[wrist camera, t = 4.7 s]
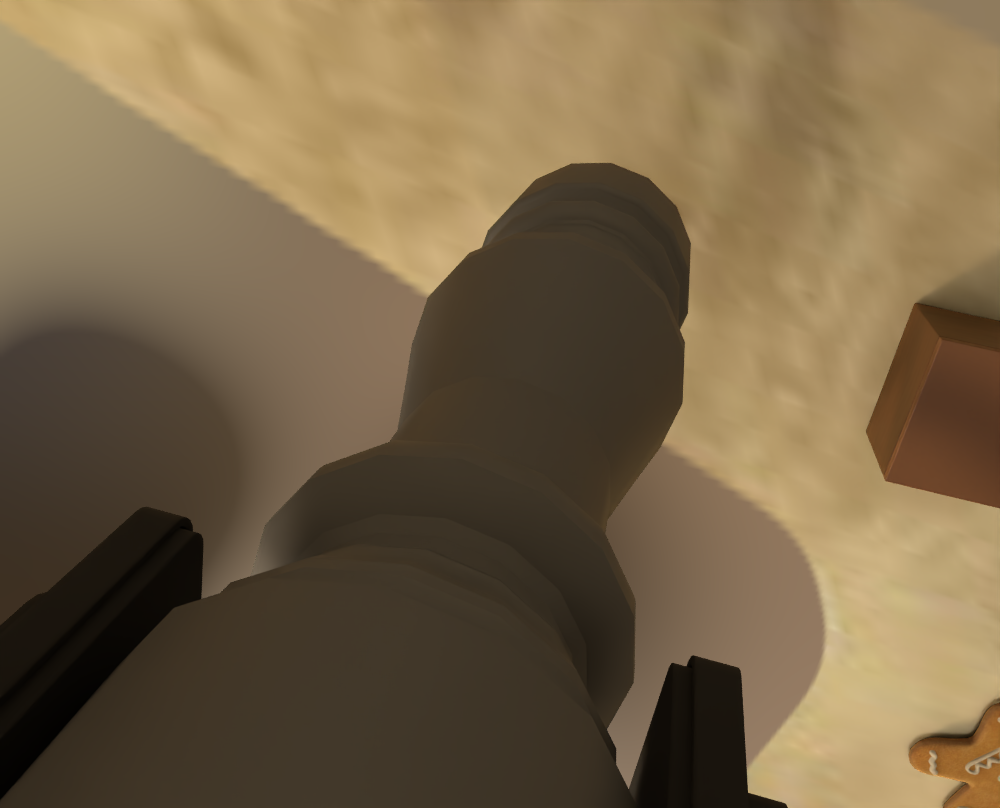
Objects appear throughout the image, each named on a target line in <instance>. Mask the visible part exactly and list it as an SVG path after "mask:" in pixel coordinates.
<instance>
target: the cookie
mask: <svg viewBox="0 0 1000 808" xmlns="http://www.w3.org/2000/svg"><path fill="white" fill-rule="evenodd" d="M909 760H910V763H911V764H912V766H913V767H914V768H915V769H917V770H918V771H920V772H923V773H926V774H929V775H934V776H940V777H945V778H949V779H953V780H957V781H962V782H966V784H965V785H964V786H963V787H962V788H961V789H959V790H958V791H957V792H956V793H955V794H954V795H953V796H951V797H950V798H949V799H948V801H947V802H946V803H945V805H944V806H943V808H1000V703H997V704H994V705H993V706H992V707H990V708H989V709H988V710H987V711H986V713H985V715H984V716H983V718H982V721H981V723H980V725H979V727H978V729H977V730H976V732H975V733H974V735H973V736H971V737H969V738H960V739H951V738H927V739H923V740H920V741H919V742H918V743H916V744H915V745H914V746H913V747H912V748H911V749H910V752H909Z"/></svg>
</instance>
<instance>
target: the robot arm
mask: <svg viewBox="0 0 1000 808" xmlns="http://www.w3.org/2000/svg"><path fill="white" fill-rule="evenodd" d="M202 565H203V538H202V536H201V534H199V533H196V532H193V526H192V523H191V521H190V520H189V519H188V518H186V517H182V516H179V515H175V514H171V513H168V512H164V511H160V510H157V509H153V508H149V507H143V508H140V509H139V510H137V511H136V512H135V513H134V514H133V515H132V516H130V518H128V519H127V520H126V521H125V522H124V523H123V524H122V525H121V526H119V527H118V528H117V529H116V530H115V531H114V532H113V533H112V534H111V535H109V536H108V537H107V538H106V539H105V540H104V541H103V542H102V543H101V544H99V545H98V546H97V547H96V548H95V549H94V550H93V551H92V552H91V553H90V554H88V555H87V556H86V557H85V558H84V559H83V560H82V561H81V562H80V563H78V564H77V565H76V566H75V567H74V568H73V569H72V570H71V571H70V572H69V573H67V574H66V575H65V576H64V577H63V578H62V579H61V580H60V581H59V582H58V583H56V585H54V586H53V587H52V588H51V589H50V590H49V591H48V592H45V593H42V594H38V595H36V596H35V597H33V598H32V599H30V600H29V601H28V602H26V603H25V604H24V605H23V606H22V607H21V608H19V609H18V610H17V611H16V612H15V613H14V614H13V615H12V616H10V617H9V618H8V619H7V620H6V621H5V622H4V623H3V624H2V625H0V800H1V798H2V797H3V796H4V795H5V794H6V793H7V792H8V790H9V789H10V788H11V787H12V786H13V785H14V784H15V782H16V781H17V780H18V779H19V778H20V777H21V776H22V774H23V773H24V772H25V771H26V770H27V769H28V768H29V767H30V765H31V764H32V763H33V762H34V761H35V760H36V759H37V757H38V756H39V755H40V754H41V753H42V752H43V751H44V749H45V748H46V747H47V746H48V745H49V744H50V743H51V741H52V740H53V739H54V738H55V737H56V736H57V735H58V734H59V732H60V731H61V730H62V729H63V728H64V727H65V726H66V724H67V723H68V722H69V721H70V720H71V719H72V718H73V716H74V715H75V714H76V713H77V712H78V711H79V710H80V708H81V707H82V706H83V705H84V704H85V703H86V702H87V700H88V699H89V698H90V697H91V696H92V695H93V694H94V693H95V691H96V690H97V689H98V688H99V687H100V686H101V685H102V683H103V682H104V681H105V680H106V679H107V678H108V677H109V675H110V674H111V673H112V672H113V671H114V670H115V669H116V667H117V666H118V665H119V664H120V663H121V662H122V661H123V660H124V659H125V658H126V657H127V656H128V655H129V654H130V653H131V652H132V651H133V650H134V649H135V648H136V647H137V646H138V645H139V644H140V643H141V642H142V640H143V639H144V638H145V637H146V636H147V635H148V634H149V633H150V632H151V631H152V630H153V629H154V628H155V627H156V626H157V625H158V624H159V623H160V622H161V621H162V620H163V619H164V618H165V617H166V616H167V615H168V614H169V613H170V611H171V610H172V609H173V608H175V607H178V606H181V605H184V604H188V603H191V602H194V601H197V600H200V599H201V592H202ZM745 751H746V750H745V733H744V715H743V697H742V680H741V671H740V669H739V668H737V667H734V666H730V665H727V664H723V663H719V662H715V661H711V660H708V659H705V658H701V657H697V656H691V658H690V659H689V661H688V664H687V666H682V665H679V664H675V663H671V665H670V667H669V669H668V672H667V675H666V678H665V681H664V684H663V687H662V691H661V693H660V696H659V699H658V703H657V706H656V708H655V712H654V715H653V718H652V721H651V724H650V727H649V730H648V733H647V736H646V739H645V742H644V745H643V748H642V751H641V754H640V757H639V760H638V763H637V766H636V769H635V772H634V776H633V778H632V781H631V785H630V787H629V791H630V793H631V795H632V797H633V799H634V801H635V803H636V805H637V807H638V808H788V807H787V805H786V804H785V803H782V802H778V801H775V800H771V799H768V798H764V797H761V796H758V795H754V794H751V793H748V785H747V767H746V752H745Z"/></svg>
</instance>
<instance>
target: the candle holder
mask: <svg viewBox="0 0 1000 808" xmlns="http://www.w3.org/2000/svg"><path fill="white" fill-rule="evenodd" d="M690 248H691V242H690V240H689V237H688V235H687V232H686V230H685V227H684V224H683V222H682V219H681V217H680V214H679V212H678V209H677V207H676V205H675V204H674V203H673V202H672V201H671V200H670V199H669V198H668V197H667V196H666V195H665V194H664V193H663V192H662V191H661V190H660V189H659V188H658V187H657V186H656V185H655V184H654V183H653V182H652V181H651V180H650V179H649V178H647V177H644V176H642V175H639V174H637V173H635V172H632V171H630V170H627V169H625V168H622V167H620V166H617V165H615V164H612V163H580V164H570V165H567V166H565V167H563V168H560V169H558V170H556V171H554V172H551V173H549V174H547V175H545V176H542V177H540V178H538V179H536V180H535V181H534V182H533V183H532V184H531V185H530V186H529V187H528V188H527V189H526V190H525V191H524V193H523V194H522V195H521V196H520V197H519V198H518V199H517V200H516V201H515V202H514V203H513V204H512V205H511V206H510V208H509V209H508V210H507V211H506V212H505V213H504V214H503V215H502V216H501V217H500V218H499V219H498V220H497V222H496V223H495V224H494V225H493V226H492V227H491V228H490V229H489V230H488V232H487V235H486V238H485V241H484V244H483V246H482V248H480V249H478V250H475V251H473V252H471V253H469V254H468V255H467V256H466V257H465V258H464V259H463V260H462V262H461V263H460V264H459V265H458V266H457V267H456V268H455V269H454V270H453V271H452V272H451V273H450V274H449V275H448V277H447V278H446V279H445V280H444V281H443V282H442V283H441V284H440V285H439V286H438V287H437V288H436V289H435V290H434V292H433V293H432V294H431V295H430V296H429V297H428V299H427V302H426V305H425V308H424V311H423V314H422V317H421V320H420V323H419V326H418V329H417V331H416V335H415V337H414V340H413V343H412V348H411V354H410V360H409V367H408V374H407V380H406V385H405V392H404V397H403V402H402V408H401V413H400V419H399V425H398V430H397V432H396V433H395V435H394V436H393V437H392V439H391V440H390V442H388V443H385V444H382V445H380V446H377V447H374V448H371V449H369V450H366V451H363V452H360V453H357V454H354V455H352V456H349V457H346V458H343V459H340V460H338V461H335V462H332V463H329V464H326V465H324V466H322V467H321V468H320V469H319V470H318V471H316V473H315V474H314V475H313V476H312V477H311V478H310V479H309V480H308V481H307V482H306V483H305V484H304V485H303V486H302V487H301V488H300V489H299V490H298V491H297V492H296V493H295V494H294V495H293V496H292V497H291V498H290V499H289V500H288V501H287V502H286V504H284V505H283V506H282V508H281V509H280V510H279V511H278V512H277V513H276V514H275V515H274V516H273V517H272V518H271V519H270V520H269V522H268V523H267V524H266V525H265V527H264V531H263V534H262V538H261V542H260V545H259V549H258V552H257V556H256V559H255V563H254V566H253V570H252V573H251V576H250V577H247V578H244V579H240V580H237V581H234V582H231V583H230V584H229V585H228V586H227V587H226V588H225V589H224V590H223V591H222V592H221V593H220V594H216V595H213V596H210V597H207V598H203V599H200V600H197V601H194V602H191V603H188V604H184V605H181V606H178V607H175V608H173V609H172V610H171V611H170V613H169V614H168V615H167V616H166V617H165V618H164V619H163V620H162V621H161V622H160V623H159V624H158V625H157V626H156V627H155V628H154V629H153V630H152V631H151V632H150V633H149V634H148V635H147V636H146V637H145V638H144V639H143V640H142V642H141V643H140V644H139V645H138V646H137V647H136V648H135V649H134V650H133V651H132V652H131V653H130V654H129V655H128V656H127V657H126V658H125V659H124V660H123V661H122V662H121V663H120V664H119V665H118V666H117V667H116V669H115V670H114V671H113V672H112V673H111V674H110V675H109V677H108V678H107V679H106V680H105V681H104V682H103V683H102V685H101V686H100V687H99V688H98V689H97V690H96V691H95V693H94V694H93V695H92V696H91V697H90V698H89V699H88V700H87V702H86V703H85V704H84V705H83V706H82V707H81V708H80V710H79V711H78V712H77V713H76V714H75V715H74V716H73V718H72V719H71V720H70V721H69V722H68V723H67V724H66V726H65V727H64V728H63V729H62V730H61V731H60V732H59V734H58V735H57V736H56V737H55V738H54V739H53V740H52V741H51V743H50V744H49V745H48V746H47V747H46V748H45V749H44V751H43V752H42V753H41V754H40V755H39V756H38V757H37V759H36V760H35V761H34V762H33V763H32V764H31V765H30V767H29V768H28V769H27V770H26V771H25V772H24V773H23V774H22V776H21V777H20V778H19V779H18V780H17V781H16V782H15V784H14V785H13V786H12V787H11V788H10V789H9V790H8V792H7V793H6V794H5V795H4V796H3V797H2V798H1V800H0V808H638V807H637V805H636V803H635V801H634V799H633V797H632V795H631V793H630V791H629V789H628V787H627V785H626V783H625V781H624V779H623V777H622V775H621V773H620V771H619V769H618V767H617V766H616V747H615V745H614V744H613V741H612V740H611V737H610V735H609V733H608V731H607V728H608V727H609V725H610V723H611V721H612V720H613V718H614V716H615V714H616V713H617V711H618V709H619V707H620V706H621V704H622V702H623V700H624V698H625V697H626V695H627V693H628V691H629V690H630V688H631V686H632V684H633V681H634V669H635V668H634V667H635V607H636V606H635V605H636V603H635V598H634V595H633V593H632V590H631V588H630V586H629V584H628V582H627V580H626V577H625V575H624V573H623V571H622V569H621V567H620V565H619V562H618V560H617V558H616V556H615V554H614V552H613V550H612V547H611V545H610V543H609V541H608V539H607V537H606V535H605V532H606V526H607V520H608V518H609V517H610V516H611V514H612V513H613V511H614V510H615V508H616V507H617V506H618V504H619V503H620V502H621V500H622V499H623V497H624V496H625V495H626V493H627V492H628V490H629V489H630V488H631V486H632V485H633V484H634V482H635V481H636V479H637V478H638V477H639V475H640V474H641V473H642V471H643V470H644V469H645V467H646V466H647V465H648V463H649V462H650V461H651V459H652V458H653V457H654V455H655V454H656V452H657V451H658V450H659V448H660V447H661V445H662V443H663V441H664V439H665V437H666V435H667V433H668V431H669V429H670V427H671V425H672V423H673V421H674V419H675V417H676V415H677V413H678V411H679V409H680V407H681V405H682V400H683V375H684V348H685V341H684V339H683V337H682V334H681V332H680V328H681V326H682V324H683V322H684V320H685V318H686V316H687V314H688V298H689V274H690Z"/></svg>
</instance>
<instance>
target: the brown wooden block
mask: <svg viewBox="0 0 1000 808" xmlns="http://www.w3.org/2000/svg"><path fill="white" fill-rule="evenodd" d="M866 433H867V436H868V438H869V441H870V443H871V446H872V448H873V451H874V453H875V456H876V458H877V461H878V463H879V466H880V469H881V471H882V474H883V476H884V479H885V481H888V482H892V483H896V484H900V485H904V486H909V487H913V488H917V489H921V490H925V491H929V492H934V493H938V494H942V495H946V496H950V497H955V498H959V499H963V500H967V501H971V502H976V503H980V504H984V505H988V506H992V507H997V508H1000V321H996V320H992V319H987V318H983V317H978V316H973V315H969V314H964V313H959V312H955V311H950V310H946V309H941V308H936V307H932V306H927V305H922V304H918V303H915V304H914V307H913V309H912V312H911V315H910V317H909V320H908V323H907V325H906V328H905V331H904V333H903V336H902V338H901V341H900V344H899V346H898V349H897V352H896V354H895V357H894V359H893V362H892V365H891V367H890V370H889V373H888V375H887V378H886V381H885V383H884V386H883V388H882V391H881V394H880V396H879V399H878V402H877V404H876V407H875V409H874V412H873V415H872V417H871V420H870V423H869V425H868V428H867V431H866Z"/></svg>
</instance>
